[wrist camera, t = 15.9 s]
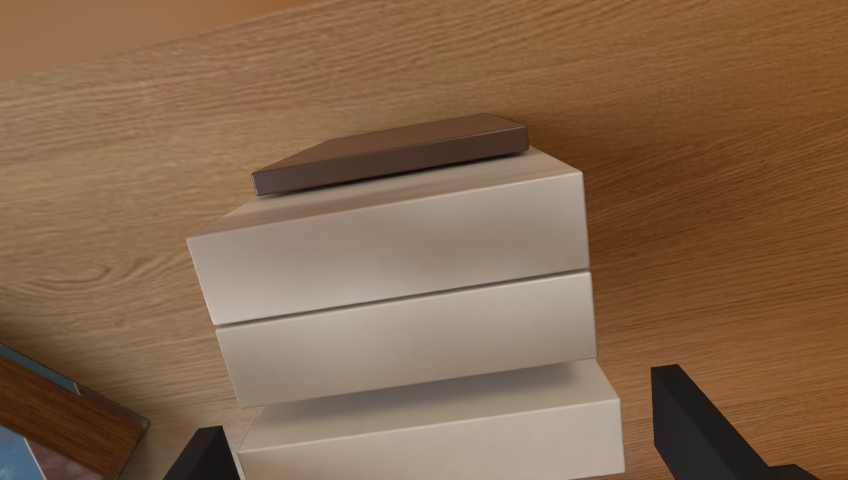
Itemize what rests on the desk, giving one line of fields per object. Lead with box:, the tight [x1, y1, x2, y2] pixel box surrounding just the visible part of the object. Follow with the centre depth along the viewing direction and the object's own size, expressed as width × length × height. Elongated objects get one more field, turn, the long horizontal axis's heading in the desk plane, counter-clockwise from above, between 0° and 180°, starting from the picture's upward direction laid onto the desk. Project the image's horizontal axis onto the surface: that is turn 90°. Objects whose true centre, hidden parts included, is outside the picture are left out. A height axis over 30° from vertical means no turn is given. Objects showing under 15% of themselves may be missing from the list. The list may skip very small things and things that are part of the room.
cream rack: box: [186, 113, 598, 409], centre depth 21 cm, size 12×10×16 cm
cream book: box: [238, 358, 626, 480], centre depth 22 cm, size 2×11×16 cm, turn 100°
